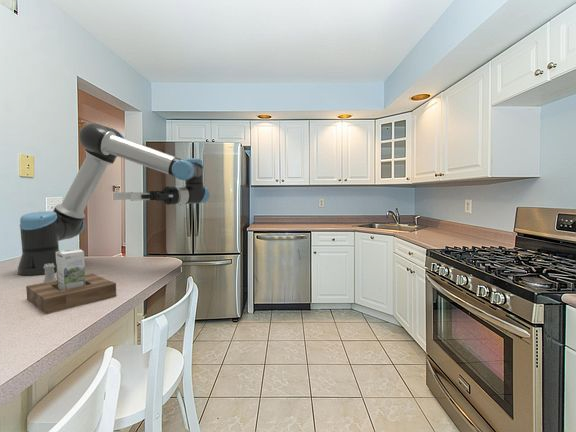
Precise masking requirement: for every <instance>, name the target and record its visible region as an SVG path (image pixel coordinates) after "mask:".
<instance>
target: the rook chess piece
mask: <svg viewBox="0 0 576 432" xmlns="http://www.w3.org/2000/svg"><path fill="white" fill-rule="evenodd" d="M54 267H55V266H54V263H51V265H50V263H48V265H47V264H44V267H43V268H44V269H45V274H44V280H43V282H42V283H45V282H50V281H55V280H57V278H56V276H55V272H54Z"/></svg>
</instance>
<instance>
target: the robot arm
mask: <svg viewBox="0 0 576 432" xmlns="http://www.w3.org/2000/svg"><path fill="white" fill-rule="evenodd" d="M78 133H79V134H78V139H79V143H80V145H81V147H83V148H84V152H85V154H86V156H85V158H84V161H83V162H82V164H81V166H80V168H79V170H78V172H77V173H76V175H75V177H74V180H72V181H73V182H72V183H71V185H70V187H69V188H68V191H67V192H66V194H65V197H64V198H63V200H62V202H61V203H59V204H56V205H55V207H54V209H53V210H52V211H50V210H48V211H47V210H46V211H37V212H30V213H29V212H28V213H26V214H23V215H22V216H21V217H20V219H19V222H20V223H19V229H20V238H21V239H20V241H21V253H22V254H21V257H20V259H19V262H18V266H17V274H18V275H20V276H38V275H39V276H40V275H45V269H44V268H43V267H44V264H47V265H48V263H50V265H51V263H54V266H55V267H54V273H57V268H56V251H60V246H59V241H63V240H70V239H72V238H74V237H77V236H79V235H80V234H82V232H83V230H84V229H85V223H86V222H85V221H84V220H85V218H86V215H85V212H84V211H85V209H86V207H87V205H88V203H89V202H90V199H91V198H92V196H93V194H94V192H95V191H96V189H97V186H98V184H99V183H100V181H101V179H102V177H103V175H104V174H105V171H106V170H107V167H108V166H109V165H113V164H114V163H115V161H116V159H117V158H120V159H121V158H122V159H123V160H126V161H129V162H132V163H134V164H138V165H140V166H143V167H146V168H149V169H152V170H155V171H157V172H158V171H159V172H161V173H164V174H167V175H169V176H172V177H174V178H177V179H178V180H181V181H184V182H185V186H184V185H180V186H179V185H174V186H164V188H162V190H155V191H154V190H150V191H147V192H133V191H131V192H113V199H114V201H116V200H117V201H119V200H120V201H121V200H123V201H125V200H130V201H131V202H135V201H157V202H158V201H159V202H161V201H162V202H163V203H164V204H165V205H167V206H169V205H180V206H183V205H185V204H186V205H187V204H188V205H189V204H194V205H195V204H204V203H206V202H207V201H208V200H209V199H210V192H209V188H208V187H206V186H204V166H203V165H204V164H203V160H202V159H201V158H191V157H189V158H186V159H182V158H179V157H177V156H174V155H171V154H169V153H166V152H162V151H160V150H157V149H154V148H152V147H149V146H146V145H144V144H141V143H138V142H134V141H132V140H129V139H127V138H126V137H125V136H124V135H123V134H122V133H121V132H120V131H118V130H116V129H114V128H112V127H109V126H106V125H103V124H100V123H96V122H95V123H93V122H92V123H88V124H85V125H84V126H83V127H81V129H80V131H79V132H78Z"/></svg>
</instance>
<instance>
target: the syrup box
mask: <svg viewBox="0 0 576 432" xmlns="http://www.w3.org/2000/svg"><path fill="white" fill-rule="evenodd" d="M85 263H86V262H85V251H84V250H82V249H81V248H73V249H64V250H59V251H56V268H57V272H56V280H57V285H58V290H59V291H61V290H66V289H71V288H76V287H80V286H85V285H86V283H85V275H86V265H85Z"/></svg>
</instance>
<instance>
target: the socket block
mask: <svg viewBox="0 0 576 432" xmlns="http://www.w3.org/2000/svg"><path fill="white" fill-rule="evenodd" d="M85 283H86V285H85V286H80V287H76V288H71V289H66V290H61V291H59V290H58V285H57V279H56V280H55V281H50V282H45V283H43V282H41V283H40V282H39V283H35V284H30V285H26V286H25V288H26V289H25V290H26V300H27V301H29V302H30V303H31V304H33V305H34V306H35V307H36V308H38V309H39V310H40V311H42V312H43V313H44V314H45V315H46V314H50V313H54V312H57V311H61V310H65V309H69V308H75V307H78V306H81V305H85V304H89V303H94V302H98V301H102V300H104V299H111V298H113V297H117V283H116V282H114V281H113V280H112V281H111V280H109V279H106V278H104V277H103V276H99V275H98V274H97V275H96V274H95V273H88V274H85Z"/></svg>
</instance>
